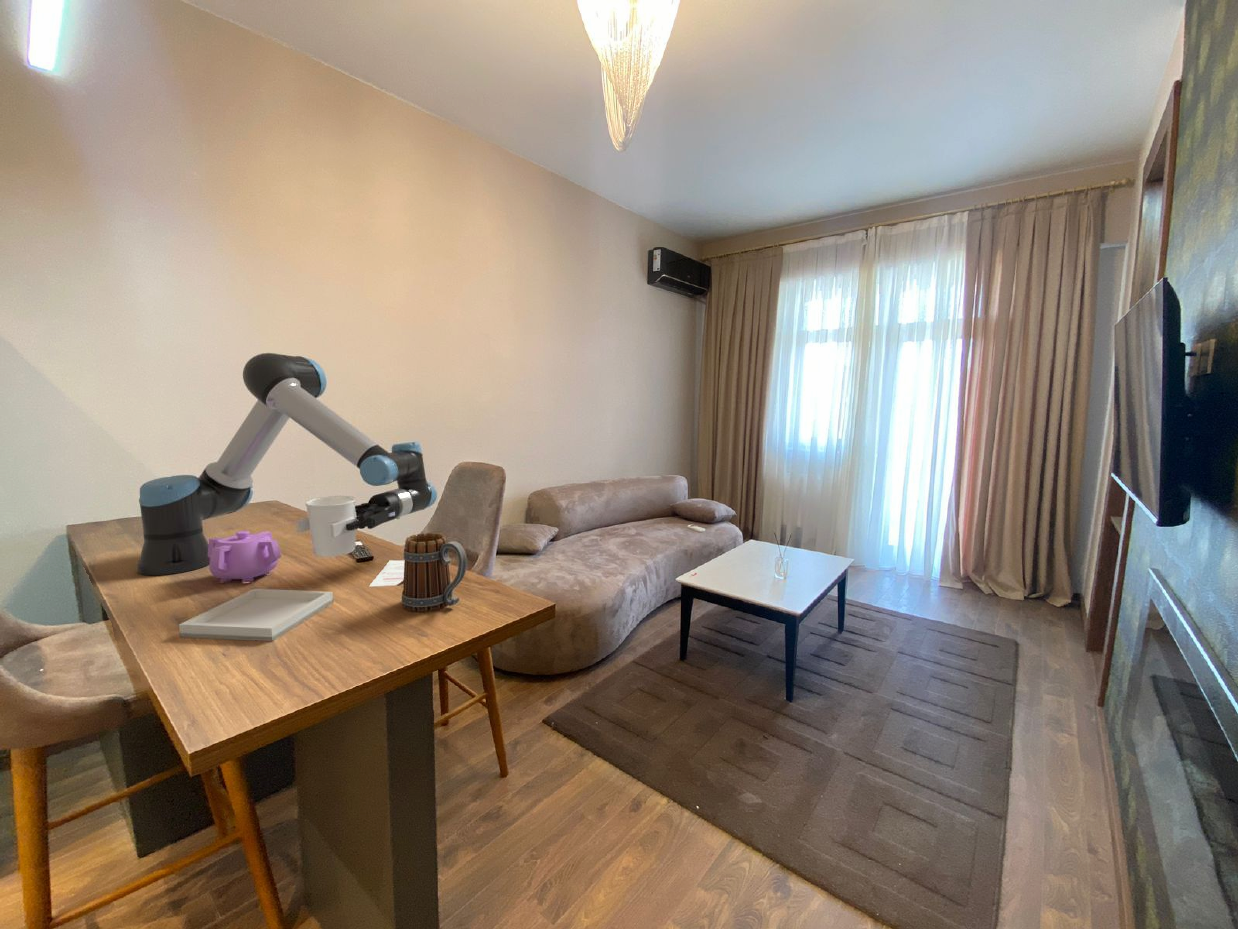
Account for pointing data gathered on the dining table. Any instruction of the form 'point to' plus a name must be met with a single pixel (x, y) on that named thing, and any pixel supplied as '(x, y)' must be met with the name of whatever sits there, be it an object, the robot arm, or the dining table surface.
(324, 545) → the white tapered cylinder
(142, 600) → the dining table surface
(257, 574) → the pot
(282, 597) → the tray
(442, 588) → the mug
